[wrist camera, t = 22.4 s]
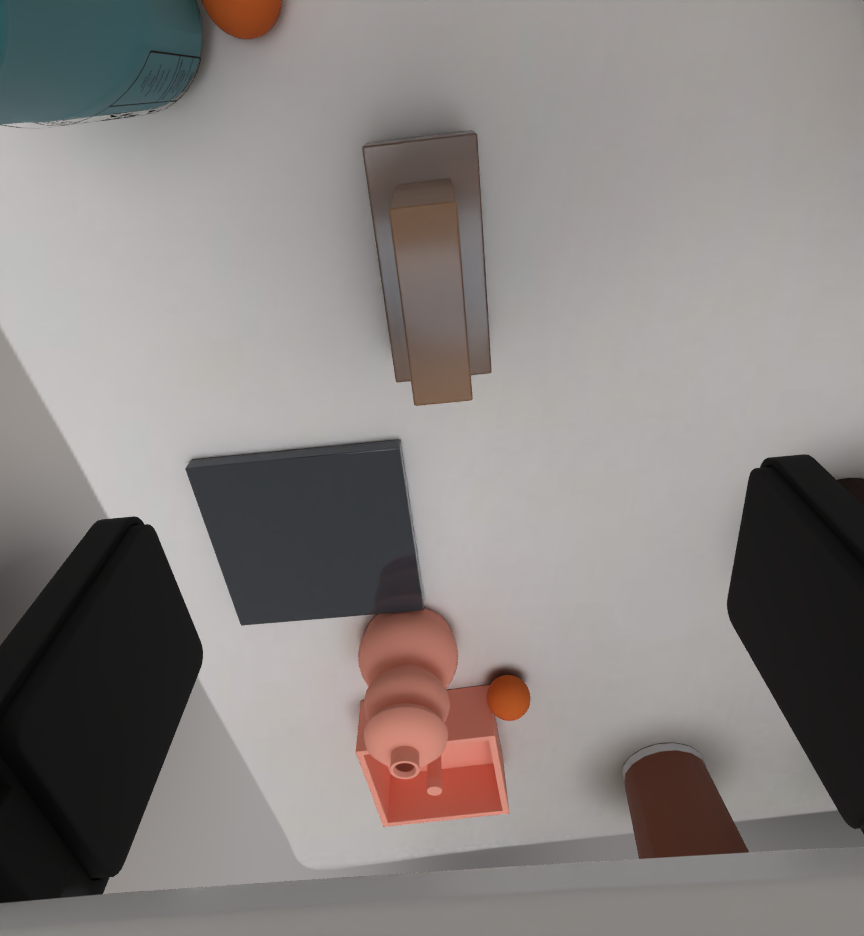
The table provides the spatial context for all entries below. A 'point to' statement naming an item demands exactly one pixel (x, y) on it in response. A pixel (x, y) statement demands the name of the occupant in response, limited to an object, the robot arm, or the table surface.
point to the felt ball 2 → (508, 697)
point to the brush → (431, 260)
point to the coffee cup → (677, 805)
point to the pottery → (425, 726)
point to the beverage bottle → (94, 57)
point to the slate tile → (312, 531)
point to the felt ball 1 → (243, 16)
